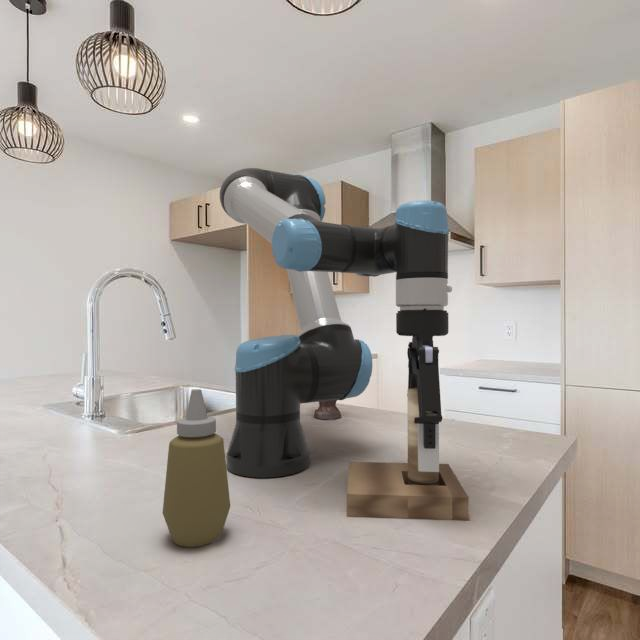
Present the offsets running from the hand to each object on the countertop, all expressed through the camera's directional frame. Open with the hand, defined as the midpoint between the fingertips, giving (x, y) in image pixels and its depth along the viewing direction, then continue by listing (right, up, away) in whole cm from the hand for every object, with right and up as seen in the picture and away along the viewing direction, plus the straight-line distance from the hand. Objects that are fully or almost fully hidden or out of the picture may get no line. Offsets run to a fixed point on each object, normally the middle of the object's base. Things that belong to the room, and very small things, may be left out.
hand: (422, 457), depth 68 cm
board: (-3, -6, 0) cm, 7 cm away
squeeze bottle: (-30, -6, -12) cm, 33 cm away
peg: (0, -6, 0) cm, 6 cm away
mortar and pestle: (-14, -6, +57) cm, 60 cm away
